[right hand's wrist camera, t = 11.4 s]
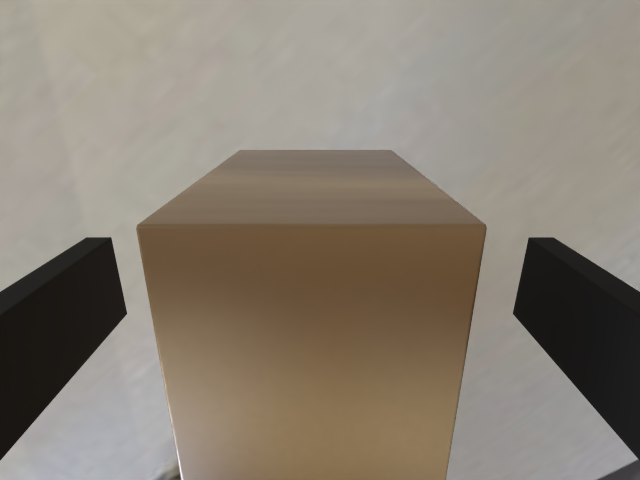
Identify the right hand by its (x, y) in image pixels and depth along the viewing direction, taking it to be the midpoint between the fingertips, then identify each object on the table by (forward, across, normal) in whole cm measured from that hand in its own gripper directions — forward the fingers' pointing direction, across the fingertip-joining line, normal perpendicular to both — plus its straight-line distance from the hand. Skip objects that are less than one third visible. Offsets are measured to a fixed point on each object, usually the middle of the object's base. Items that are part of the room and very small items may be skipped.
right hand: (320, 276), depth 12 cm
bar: (+3, 0, -9) cm, 9 cm away
